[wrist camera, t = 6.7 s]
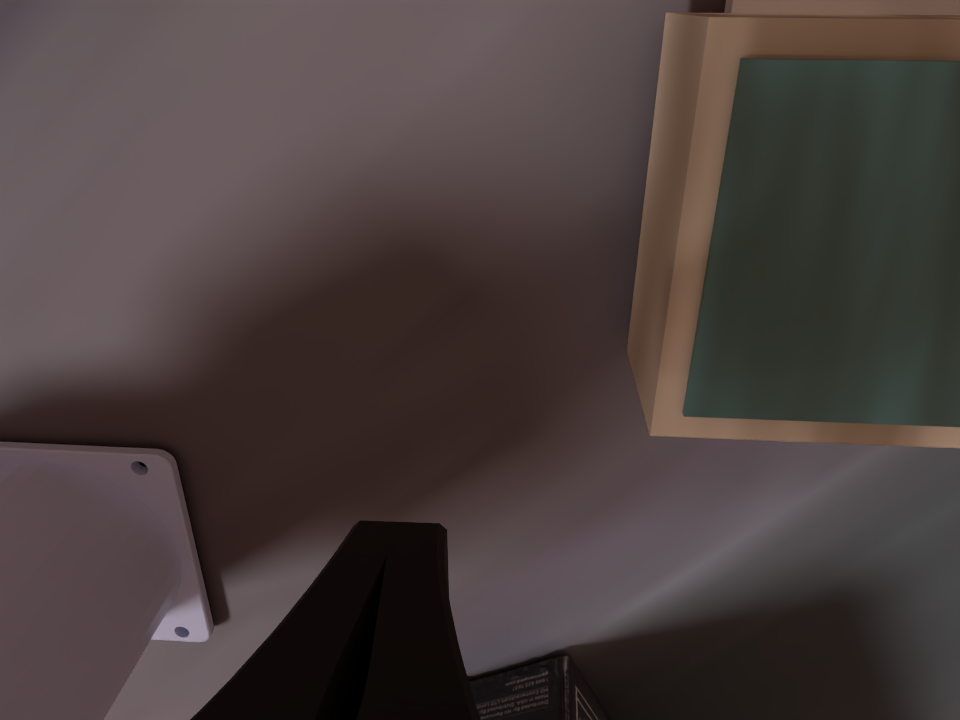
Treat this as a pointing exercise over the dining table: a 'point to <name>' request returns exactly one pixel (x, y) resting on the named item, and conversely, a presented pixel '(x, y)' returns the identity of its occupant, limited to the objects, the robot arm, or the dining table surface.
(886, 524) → the dining table surface
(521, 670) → the small box
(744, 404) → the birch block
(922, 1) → the beige mat
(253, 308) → the dining table surface
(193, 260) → the dining table surface
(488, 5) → the dining table surface
